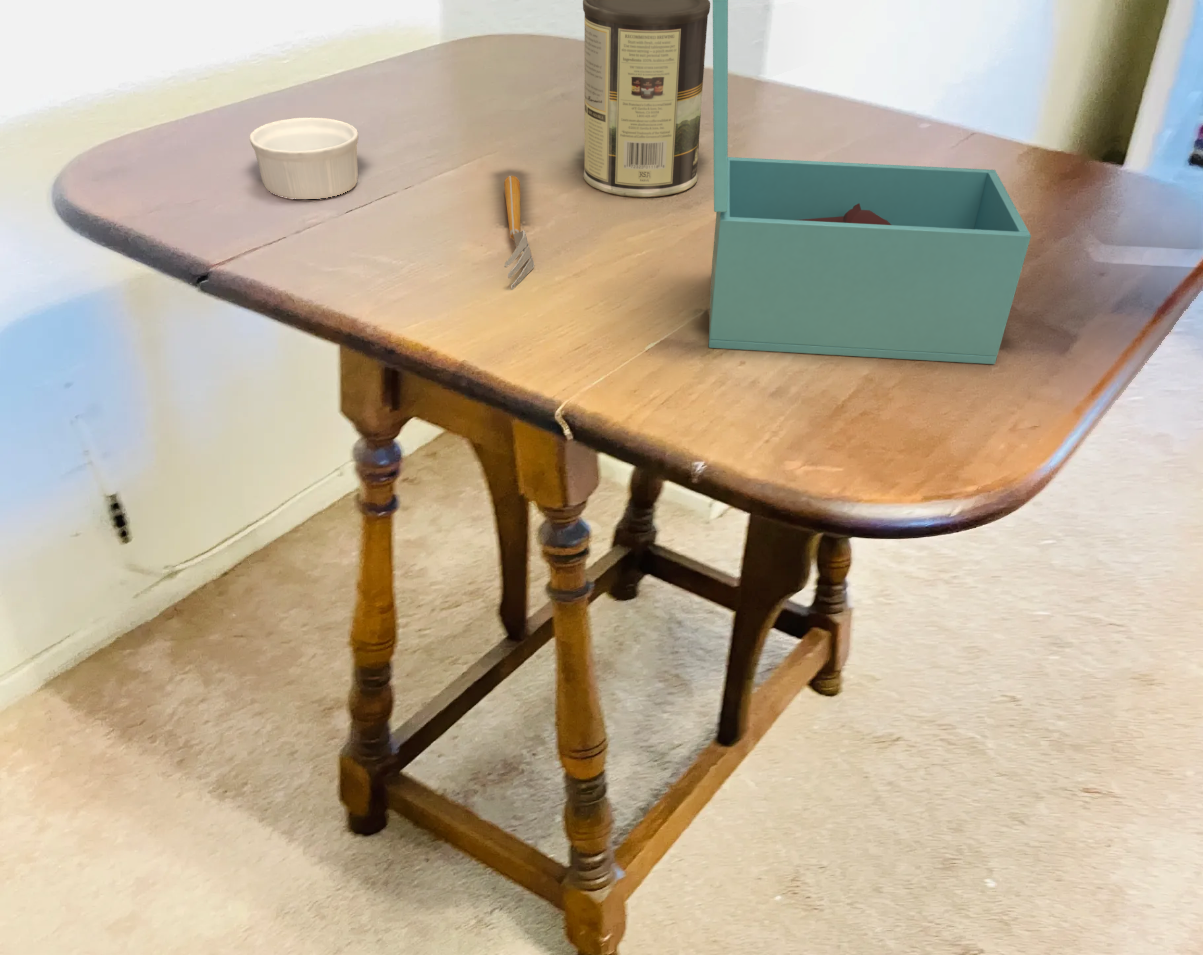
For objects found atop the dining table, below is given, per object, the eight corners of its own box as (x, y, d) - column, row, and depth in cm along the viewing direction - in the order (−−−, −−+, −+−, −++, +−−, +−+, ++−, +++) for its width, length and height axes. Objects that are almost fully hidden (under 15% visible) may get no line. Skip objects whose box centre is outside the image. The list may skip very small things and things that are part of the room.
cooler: (965, 288, 79) (995, 169, 74) (995, 364, 70) (1031, 235, 65) (711, 275, 80) (721, 156, 75) (708, 348, 71) (719, 219, 66)
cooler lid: (728, -197, 62) (714, -196, 62) (727, -178, 53) (711, -177, 53) (727, 149, 74) (715, 149, 74) (727, 212, 65) (713, 212, 65)
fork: (496, 171, 92) (502, 260, 76) (517, 165, 92) (527, 254, 76) (504, 200, 93) (512, 294, 78) (525, 195, 93) (537, 287, 78)
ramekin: (385, 181, 94) (379, 129, 91) (311, 212, 88) (303, 157, 85) (312, 161, 98) (304, 110, 95) (236, 189, 92) (226, 136, 89)
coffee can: (661, 152, 101) (670, -18, 92) (719, 187, 94) (735, 7, 85) (562, 167, 97) (561, -9, 88) (615, 205, 91) (620, 19, 81)
